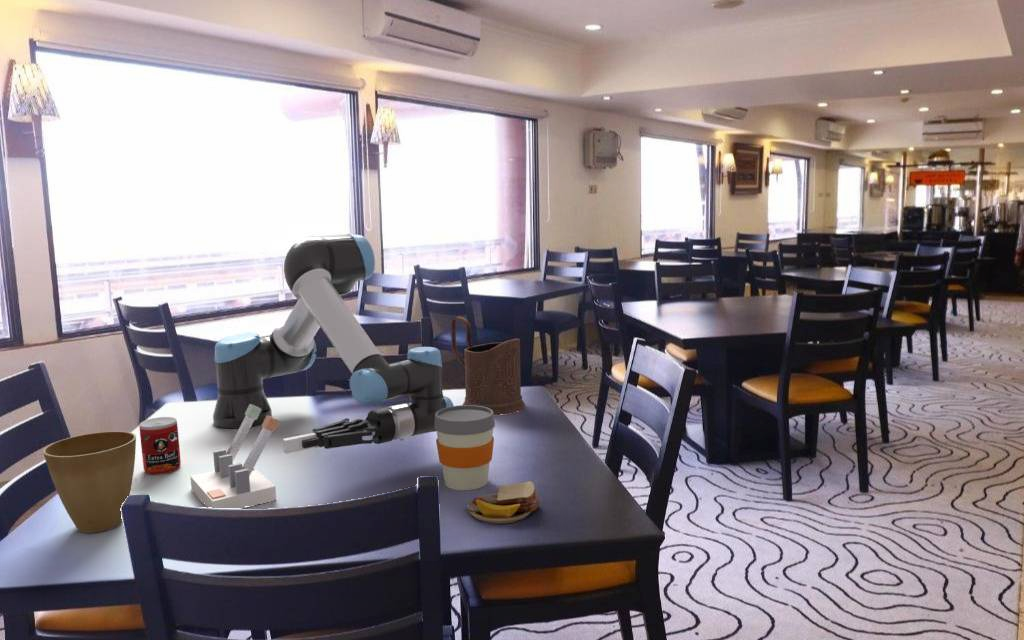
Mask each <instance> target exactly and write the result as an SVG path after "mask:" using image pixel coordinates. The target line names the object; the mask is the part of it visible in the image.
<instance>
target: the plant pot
mask: <svg viewBox="0 0 1024 640" xmlns="http://www.w3.org/2000/svg"><path fill="white" fill-rule="evenodd" d="M136 444H137V436H136V434H134V433H133V432H129V431H124V430H123V431H121V430H113V431H111V430H108V431H99V432H98V431H97V432H90V433H84V434H80V435H75V436H71V437H67V438H64V439H60V440H58V441H55V442H53V443H51V444H49V445H47V446H46V447H44V448H43V450H42V451H43V452H42V453H43V455H44V460H45V463H46V466H47V468H48V469H47V470H48V472H49V475H50V477H51V481H52V483H53V485H54V488H55V490H56V492H57V494H58V496H59V499H60V501H61V503H62V504H63V505H62V506H63V507H64V509H65V510H66V513H67V514H68V516H69V518H70V519H71V521H72V523H73V524H74V526H75V528H76V529H77V530H78V532H80V533H84V534H93V533H94V534H95V533H102V532H104V531H109V530H111V529H114V528H116V527H119V525H121V524H122V522H123V521H122V519H121V511H120V508H121V505H122V503H123V502H124V501H125V499H126V498H127V496H129V497H130V496H131V495H130V494H131V490H132V485H133V478H134V470H135V462H136V451H137V450H136V446H137V445H136ZM120 523H121V524H120Z"/></svg>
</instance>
